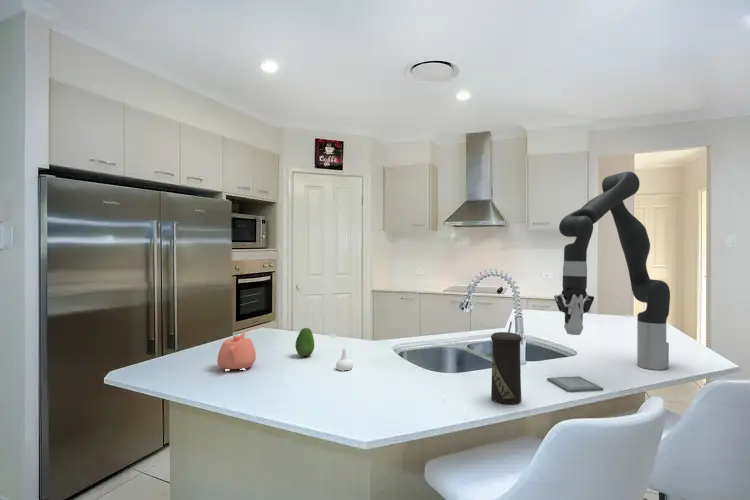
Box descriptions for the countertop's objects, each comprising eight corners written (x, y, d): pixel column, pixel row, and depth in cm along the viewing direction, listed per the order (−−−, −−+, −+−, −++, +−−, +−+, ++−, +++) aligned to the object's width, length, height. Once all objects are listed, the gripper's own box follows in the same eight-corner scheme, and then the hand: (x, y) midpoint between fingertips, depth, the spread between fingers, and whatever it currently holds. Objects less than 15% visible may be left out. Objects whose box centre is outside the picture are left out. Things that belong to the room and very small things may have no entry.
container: (486, 395, 128) (486, 330, 128) (514, 394, 129) (514, 329, 129) (497, 405, 119) (497, 336, 119) (527, 404, 120) (527, 335, 120)
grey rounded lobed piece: (584, 336, 139) (585, 297, 139) (566, 334, 140) (567, 296, 140) (580, 332, 144) (581, 295, 144) (562, 331, 146) (563, 294, 146)
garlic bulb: (355, 370, 155) (357, 349, 156) (343, 372, 151) (345, 350, 151) (344, 367, 160) (345, 346, 160) (332, 369, 155) (333, 347, 156)
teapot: (260, 359, 168) (260, 330, 168) (249, 375, 148) (249, 341, 148) (226, 360, 167) (226, 330, 167) (211, 376, 147) (211, 342, 147)
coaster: (579, 378, 144) (579, 376, 144) (603, 390, 132) (603, 387, 132) (547, 380, 142) (547, 377, 142) (568, 392, 130) (568, 389, 130)
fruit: (318, 355, 174) (318, 327, 174) (305, 360, 168) (305, 330, 167) (304, 353, 178) (304, 325, 178) (291, 357, 172) (291, 328, 172)
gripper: (587, 274, 147) (585, 322, 147) (549, 273, 145) (548, 322, 145) (600, 275, 139) (599, 327, 139) (561, 274, 138) (560, 326, 138)
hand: (573, 324), depth 142 cm, fingers closed on grey rounded lobed piece, 3 cm apart
